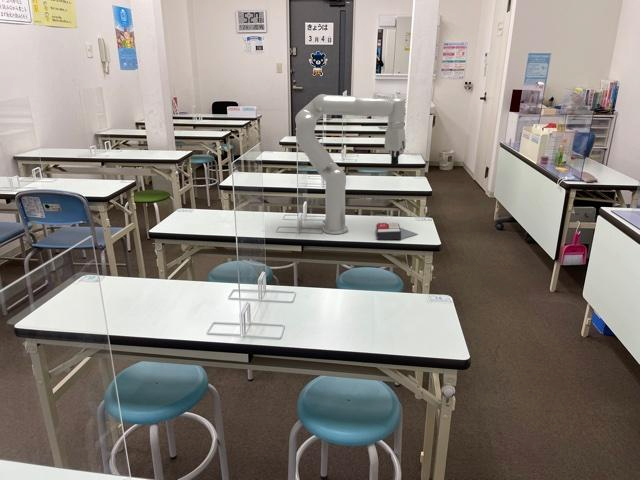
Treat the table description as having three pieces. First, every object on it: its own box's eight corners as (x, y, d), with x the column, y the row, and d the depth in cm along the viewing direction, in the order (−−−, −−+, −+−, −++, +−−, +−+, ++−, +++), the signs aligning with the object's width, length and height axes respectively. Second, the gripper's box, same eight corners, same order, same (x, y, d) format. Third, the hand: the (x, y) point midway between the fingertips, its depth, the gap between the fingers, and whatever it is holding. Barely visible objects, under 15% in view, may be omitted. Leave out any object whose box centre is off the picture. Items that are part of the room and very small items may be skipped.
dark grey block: (398, 221, 233) (401, 230, 218) (398, 230, 234) (401, 239, 220) (376, 222, 234) (376, 231, 219) (376, 230, 235) (377, 239, 221)
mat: (383, 232, 230) (383, 232, 230) (400, 228, 236) (400, 227, 236) (401, 239, 221) (401, 238, 221) (417, 234, 227) (417, 233, 227)
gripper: (379, 125, 227) (378, 163, 233) (401, 127, 215) (399, 168, 222) (390, 123, 231) (389, 161, 237) (413, 126, 219) (411, 165, 226)
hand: (394, 164), depth 230 cm, fingers closed
